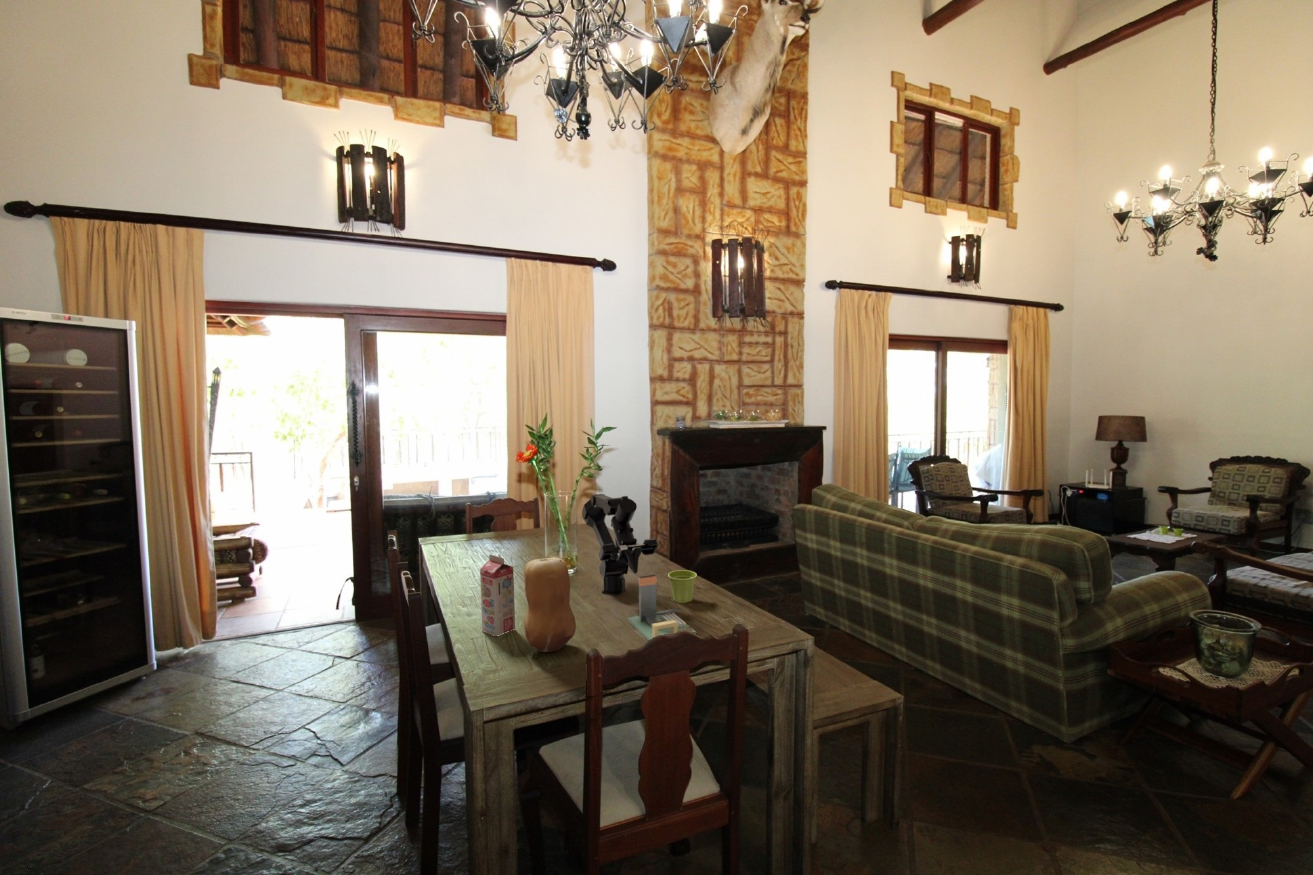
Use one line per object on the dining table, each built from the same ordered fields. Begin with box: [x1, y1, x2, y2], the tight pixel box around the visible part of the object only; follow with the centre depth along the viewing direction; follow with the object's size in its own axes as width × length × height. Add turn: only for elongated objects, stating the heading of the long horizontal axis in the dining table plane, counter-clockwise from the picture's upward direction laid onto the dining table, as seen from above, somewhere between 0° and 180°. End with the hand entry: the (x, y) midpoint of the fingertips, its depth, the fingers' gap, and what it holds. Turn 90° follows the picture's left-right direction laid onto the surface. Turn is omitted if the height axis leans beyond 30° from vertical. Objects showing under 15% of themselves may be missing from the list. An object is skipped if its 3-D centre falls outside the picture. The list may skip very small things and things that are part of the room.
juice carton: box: [479, 553, 516, 637], centre depth 176 cm, size 7×7×22 cm
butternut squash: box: [523, 557, 577, 653], centre depth 162 cm, size 14×13×25 cm
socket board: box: [627, 612, 697, 641], centre depth 178 cm, size 18×14×4 cm
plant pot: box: [667, 569, 698, 604], centre depth 200 cm, size 9×9×9 cm
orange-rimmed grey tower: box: [637, 574, 681, 627], centre depth 180 cm, size 8×13×13 cm, turn 114°
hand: (635, 572), depth 189 cm, fingers closed
